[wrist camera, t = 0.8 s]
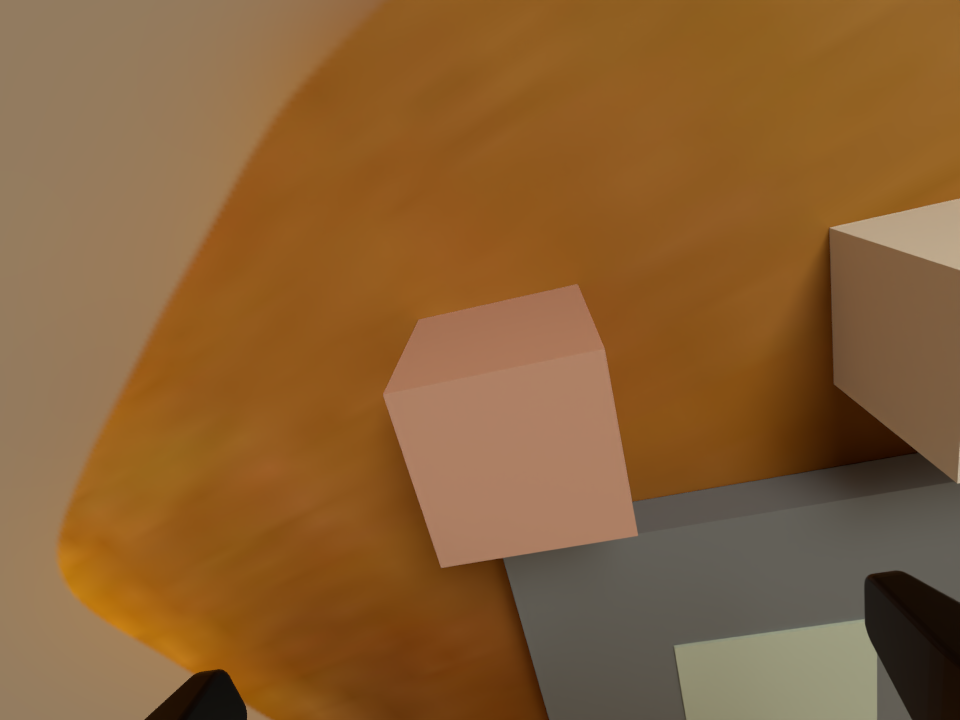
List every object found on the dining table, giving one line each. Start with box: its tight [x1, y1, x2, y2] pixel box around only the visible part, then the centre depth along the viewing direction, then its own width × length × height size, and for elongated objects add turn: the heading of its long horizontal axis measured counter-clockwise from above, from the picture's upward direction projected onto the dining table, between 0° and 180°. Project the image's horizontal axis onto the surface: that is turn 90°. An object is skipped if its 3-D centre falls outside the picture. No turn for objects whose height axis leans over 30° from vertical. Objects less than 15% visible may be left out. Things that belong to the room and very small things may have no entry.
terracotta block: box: [383, 284, 638, 568], centre depth 15 cm, size 4×4×5 cm
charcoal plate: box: [503, 453, 960, 720], centre depth 20 cm, size 15×15×2 cm
